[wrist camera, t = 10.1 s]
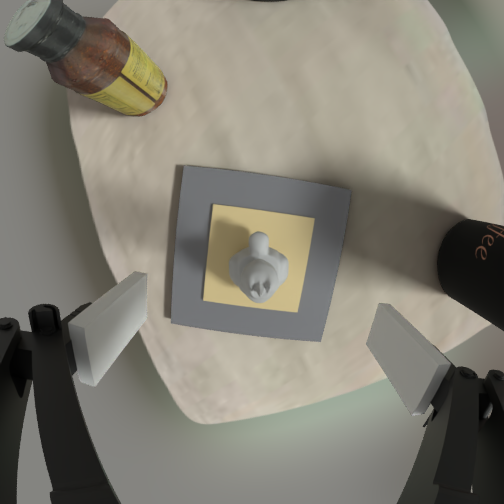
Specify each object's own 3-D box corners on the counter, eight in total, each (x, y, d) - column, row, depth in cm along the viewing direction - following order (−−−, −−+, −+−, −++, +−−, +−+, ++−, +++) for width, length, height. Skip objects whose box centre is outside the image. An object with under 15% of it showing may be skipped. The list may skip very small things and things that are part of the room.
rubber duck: (231, 291, 29) (224, 326, 21) (230, 227, 27) (221, 240, 20) (284, 291, 29) (295, 325, 21) (285, 226, 27) (298, 240, 20)
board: (186, 166, 27) (183, 165, 26) (348, 190, 28) (352, 189, 27) (173, 319, 31) (170, 324, 30) (318, 337, 31) (321, 343, 30)
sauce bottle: (145, 61, 25) (54, -37, 5) (181, 87, 26) (95, -27, 6) (107, 103, 26) (-15, 42, 6) (140, 131, 27) (8, 72, 7)
